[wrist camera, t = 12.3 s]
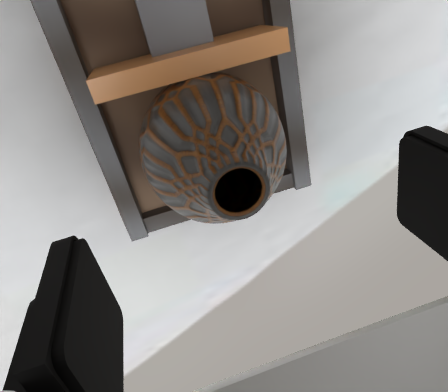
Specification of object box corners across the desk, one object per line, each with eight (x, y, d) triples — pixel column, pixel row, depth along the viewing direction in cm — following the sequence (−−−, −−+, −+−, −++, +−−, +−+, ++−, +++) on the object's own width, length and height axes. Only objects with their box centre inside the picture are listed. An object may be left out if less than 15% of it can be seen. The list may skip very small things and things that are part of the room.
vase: (255, 57, 20) (333, 83, 12) (259, 173, 23) (323, 251, 15) (126, 71, 19) (123, 110, 11) (149, 191, 22) (159, 285, 14)
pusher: (68, 2, 17) (53, -1, 14) (249, -43, 18) (277, -55, 14) (101, 88, 19) (95, 104, 15) (263, 44, 20) (290, 51, 16)
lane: (-79, -273, 13) (-215, -461, 8) (236, -325, 14) (297, -518, 9) (127, 224, 24) (127, 283, 18) (300, 170, 25) (346, 212, 20)
